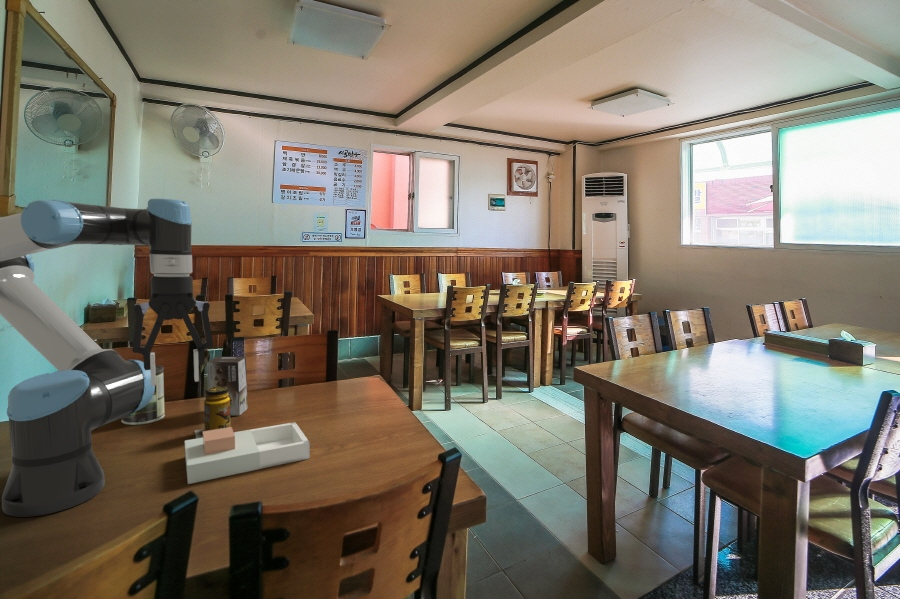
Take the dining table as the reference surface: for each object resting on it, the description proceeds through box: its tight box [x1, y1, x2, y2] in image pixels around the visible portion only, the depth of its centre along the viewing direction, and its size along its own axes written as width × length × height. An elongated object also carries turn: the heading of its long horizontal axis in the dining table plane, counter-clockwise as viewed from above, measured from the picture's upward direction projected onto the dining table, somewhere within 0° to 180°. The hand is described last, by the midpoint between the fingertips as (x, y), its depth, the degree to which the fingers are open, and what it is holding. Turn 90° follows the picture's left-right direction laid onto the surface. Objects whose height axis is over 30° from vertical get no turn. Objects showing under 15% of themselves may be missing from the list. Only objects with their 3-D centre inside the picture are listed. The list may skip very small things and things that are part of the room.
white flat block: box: [184, 429, 261, 485], centre depth 104 cm, size 14×14×4 cm
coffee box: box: [206, 356, 248, 416], centre depth 135 cm, size 9×6×16 cm
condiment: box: [194, 386, 231, 439], centre depth 120 cm, size 7×8×12 cm
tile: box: [203, 426, 235, 454], centre depth 104 cm, size 6×6×3 cm
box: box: [249, 421, 311, 470], centre depth 111 cm, size 11×14×4 cm
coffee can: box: [121, 364, 166, 426], centre depth 128 cm, size 10×10×14 cm
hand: (175, 381), depth 98 cm, fingers open, 7 cm apart
